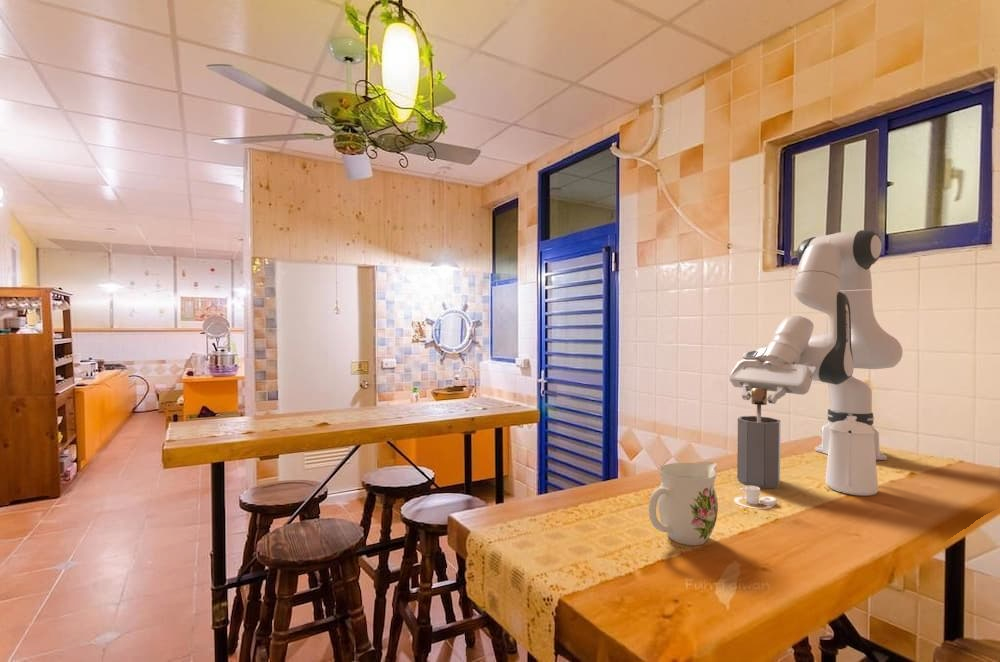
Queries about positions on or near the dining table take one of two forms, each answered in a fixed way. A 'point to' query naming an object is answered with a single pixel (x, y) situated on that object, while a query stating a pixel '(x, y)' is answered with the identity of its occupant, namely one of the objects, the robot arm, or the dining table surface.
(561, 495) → the dining table surface
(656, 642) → the dining table surface
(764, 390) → the plunger
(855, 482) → the coffeepot
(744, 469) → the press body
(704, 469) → the pitcher
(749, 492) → the teacup and saucer
